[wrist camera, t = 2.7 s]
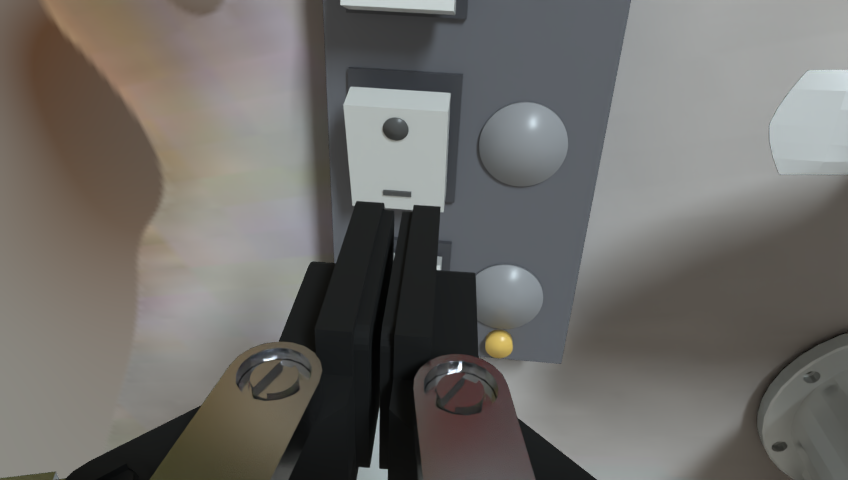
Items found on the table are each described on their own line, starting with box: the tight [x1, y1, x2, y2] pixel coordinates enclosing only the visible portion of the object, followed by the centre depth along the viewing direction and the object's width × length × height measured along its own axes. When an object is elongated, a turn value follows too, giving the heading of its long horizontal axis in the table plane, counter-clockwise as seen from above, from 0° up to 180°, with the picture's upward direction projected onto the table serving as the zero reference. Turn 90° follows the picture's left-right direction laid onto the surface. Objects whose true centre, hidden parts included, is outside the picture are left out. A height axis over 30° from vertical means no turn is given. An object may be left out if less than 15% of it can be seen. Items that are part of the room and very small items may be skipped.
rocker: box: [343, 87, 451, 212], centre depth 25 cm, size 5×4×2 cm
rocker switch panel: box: [323, 0, 631, 364], centre depth 29 cm, size 30×12×4 cm, turn 178°
